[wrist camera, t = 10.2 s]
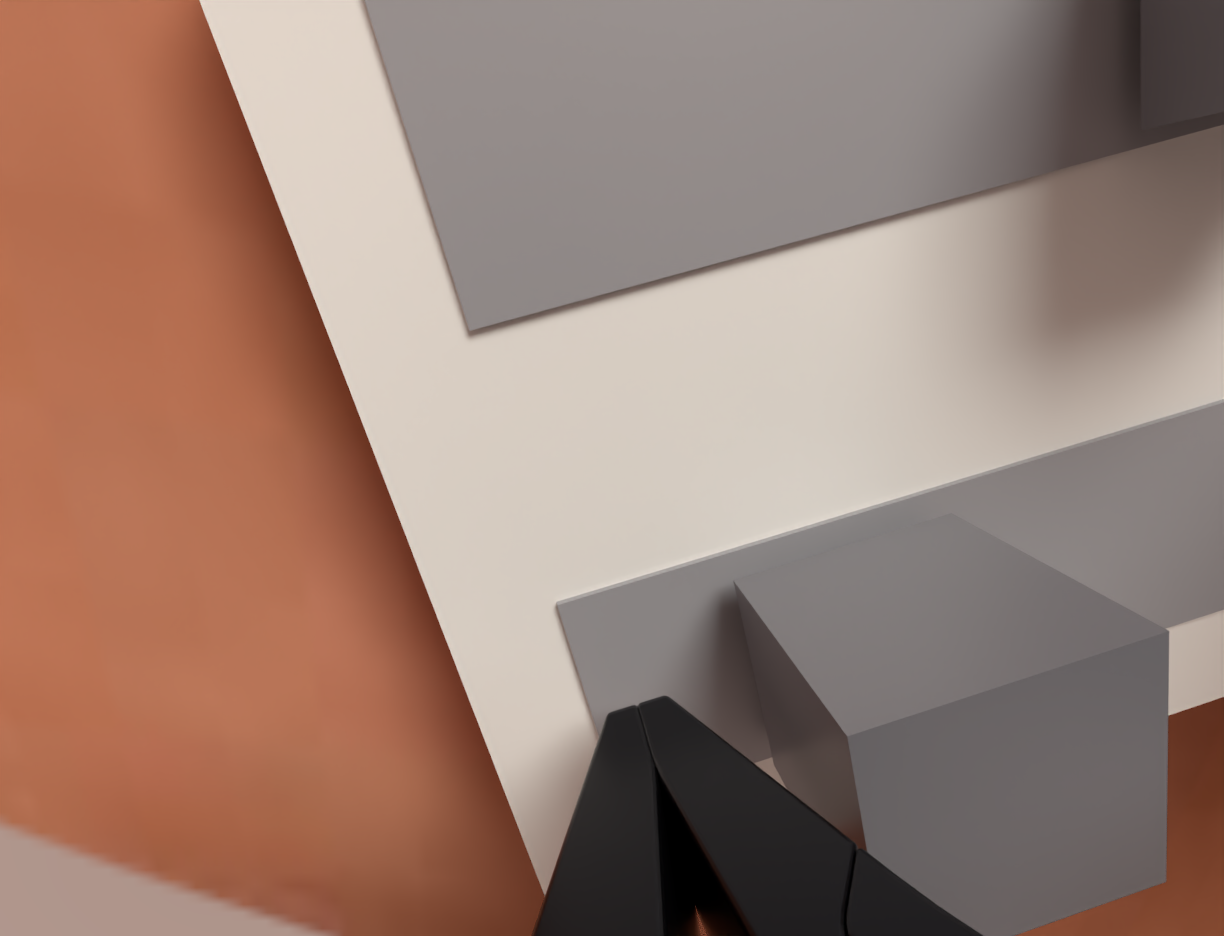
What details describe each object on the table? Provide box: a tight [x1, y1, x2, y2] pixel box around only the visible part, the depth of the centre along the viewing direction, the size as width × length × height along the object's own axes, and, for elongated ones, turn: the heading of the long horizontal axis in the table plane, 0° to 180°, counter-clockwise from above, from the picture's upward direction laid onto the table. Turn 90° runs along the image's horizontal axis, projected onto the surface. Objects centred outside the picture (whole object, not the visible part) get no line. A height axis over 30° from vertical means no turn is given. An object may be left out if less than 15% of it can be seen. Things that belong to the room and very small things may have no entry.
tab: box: [733, 513, 1169, 936], centre depth 8 cm, size 3×3×3 cm
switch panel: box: [199, 0, 1224, 896], centre depth 9 cm, size 14×14×2 cm
